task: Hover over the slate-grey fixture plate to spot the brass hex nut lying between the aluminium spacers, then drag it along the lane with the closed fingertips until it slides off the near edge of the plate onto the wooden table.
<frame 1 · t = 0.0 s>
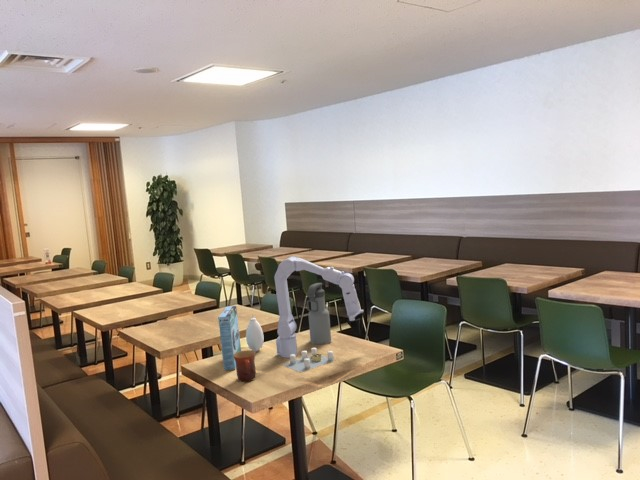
hand: (359, 332, 218), 11 cm above the table, tool pointing down, fingers open, 7 cm apart
nut: (316, 360, 217), point 1 cm above the table, touching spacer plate
water bottle: (320, 343, 243), on the table
sauce bottle: (256, 351, 239), on the table
mug: (247, 381, 202), on the table
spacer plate: (309, 364, 215), on the table
blue cereal box: (233, 362, 225), on the table
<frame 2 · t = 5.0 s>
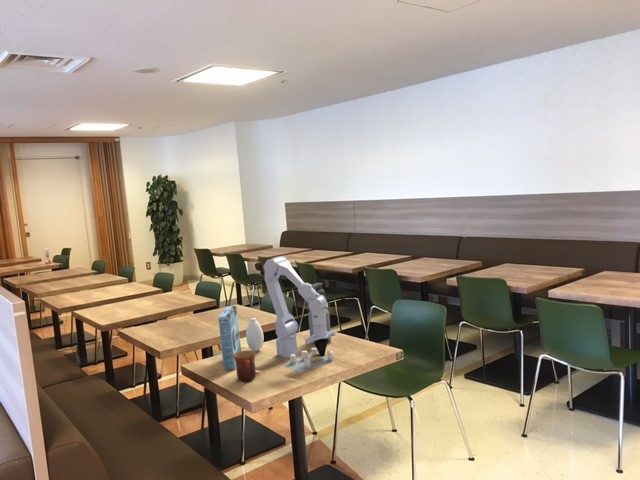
hand: (322, 356, 219), 2 cm above the table, tool pointing down, fingers closed
nut: (316, 360, 217), point 1 cm above the table, touching gripper
everything else where it was.
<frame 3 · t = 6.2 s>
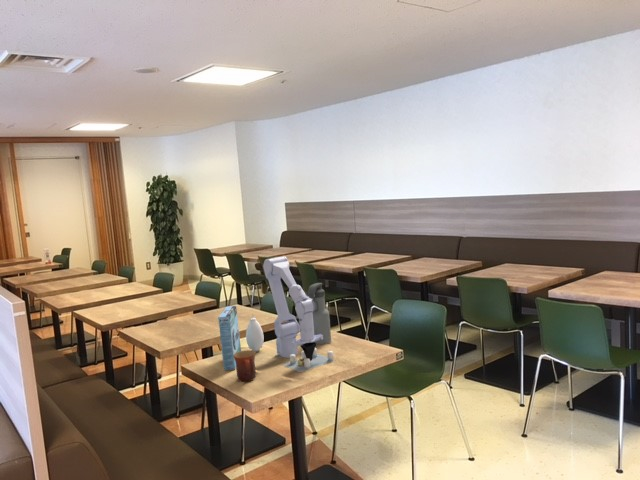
hand: (309, 360, 215), 2 cm above the table, tool pointing down, fingers closed
nut: (303, 364, 213), point 1 cm above the table, touching gripper
everything else where it was.
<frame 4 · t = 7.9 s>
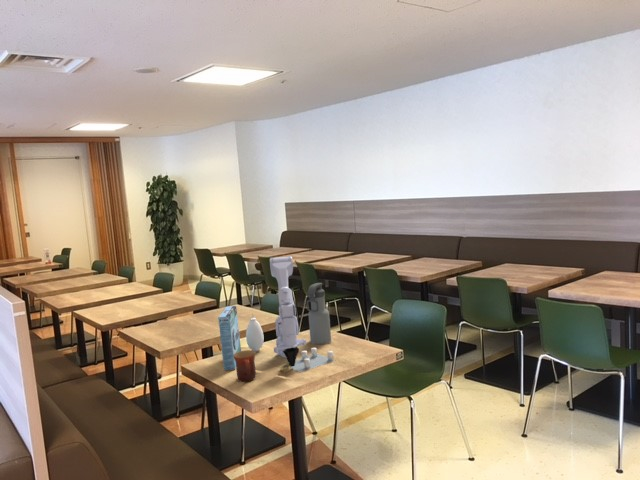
hand: (291, 365, 210), 2 cm above the table, tool pointing down, fingers closed
nut: (286, 370, 209), on the table, tilted 11°, touching gripper
everything else where it was.
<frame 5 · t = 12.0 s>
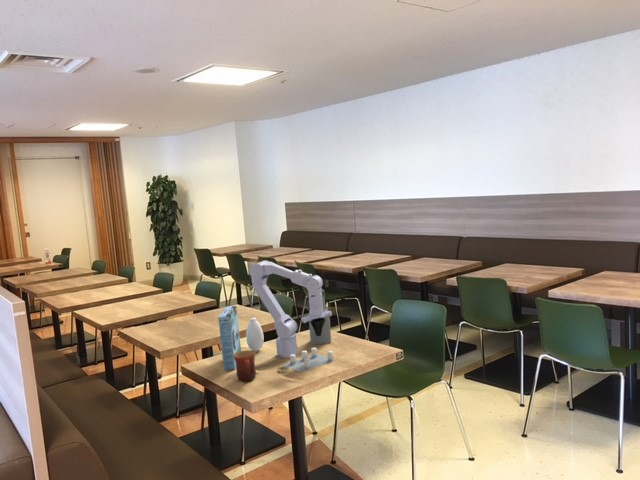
hand: (318, 335, 221), 10 cm above the table, tool pointing down, fingers closed
nut: (283, 373, 208), on the table
everything else where it was.
at the end: nut inside the target area on the table beside the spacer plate (3.3 cm from its centre), on the table; nut on the table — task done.
